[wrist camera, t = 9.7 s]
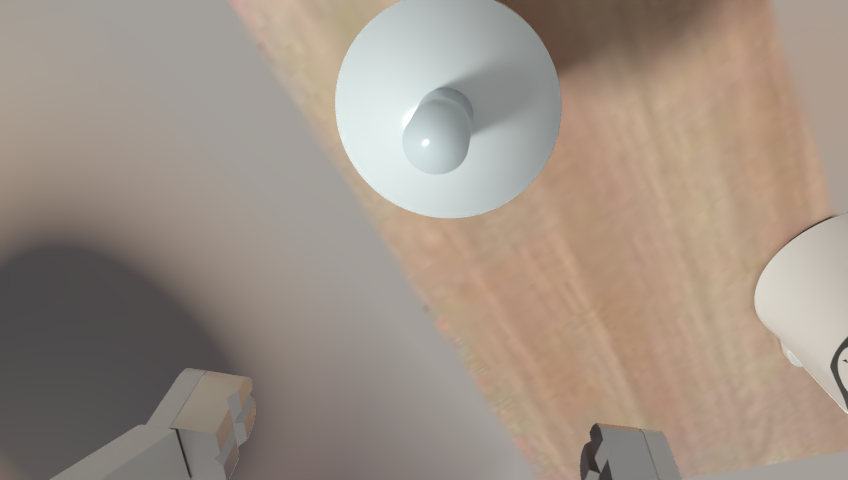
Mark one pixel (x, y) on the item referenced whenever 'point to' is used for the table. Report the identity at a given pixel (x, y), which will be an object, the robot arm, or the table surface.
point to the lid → (448, 105)
